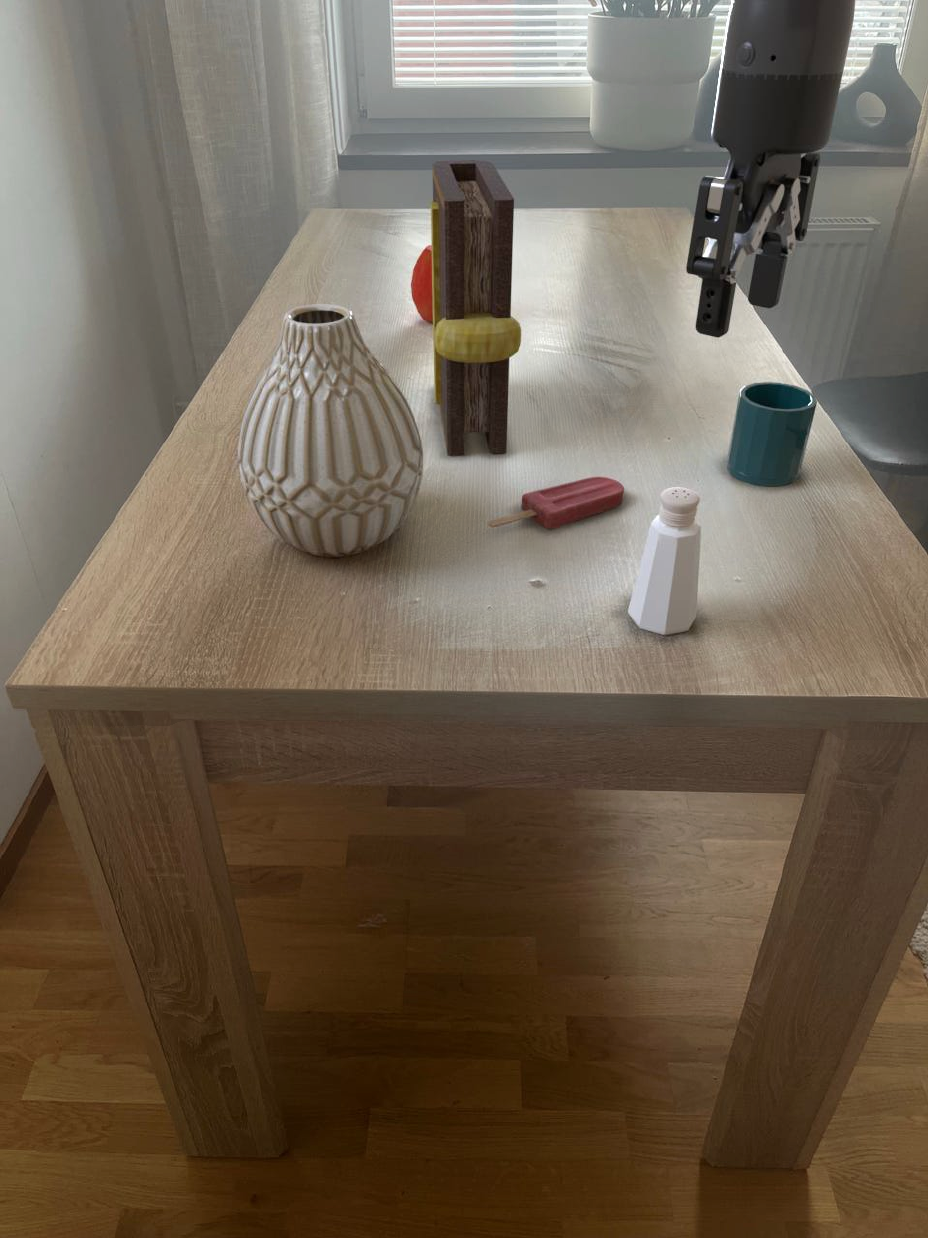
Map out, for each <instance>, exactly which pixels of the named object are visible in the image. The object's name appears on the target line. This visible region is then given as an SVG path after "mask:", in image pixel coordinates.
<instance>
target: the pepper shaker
mask: <svg viewBox="0 0 928 1238" xmlns="http://www.w3.org/2000/svg"><path fill="white" fill-rule="evenodd" d="M700 500H701V497H700V496H699V494H698V493H697V492H696V491H694V490H693V489H691V488H687V487H682V486H674V487H669V488H665V489H664V490H663V491H662V492H661V493H660V506H659V514H658V515H656V516H655V518H654V519H653V521H652V522H651V523H650V526H649V529H648V532H647V536H646V540H645V544H644V548H643V550H642V551H643V552H642V555H641V559H640V563H639V567H638V571H637V574H636V577H635V582H634V586H633V590H632V593H631V598H630V602H629V606H628V610H627V613H628V615H629V616H630V617H631V619H632V621H633V622H634V623H635V624H636V626H637V627H638V628H639V629H641V630H643V631H648V632H651V633H654V634H658V635H662V636H669V635H673V634H679V633H684V632H688V631H689V630H690V628H691V627H692V625H693V623H694V621H695V619H696V618H697V611H698V595H699V594H698V592H699V591H698V590H699V577H700V576H699V575H700V556H701V538H702V526H701V525H700V524H699V523H698V522H697V521H696V516H697V511H698V506H699V503H700Z"/></svg>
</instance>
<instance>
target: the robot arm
mask: <svg viewBox="0 0 928 1238" xmlns="http://www.w3.org/2000/svg"><path fill="white" fill-rule="evenodd" d="M855 8H856V0H731V4H730V7H729V12H728V16H727V22H726V27H725V34H724V40H723V41H724V42H723V49H722V55H721V63H720V69H719V77H718V82H717V83H718V84H717V91H716V99H715V106H714V113H713V120H712V127H711V132H710V133H711V134H710V135H711V140H712V142H713V143H714V144H715V145H716V146H717V147H719V148H722V149H726V150H727V152H728V153H729V160H728V163H727V167H726V169H725V170H726V171H725V172H724V176H723V177H718V176H710V175H704V176H702V178H701V180H700V183H699V187H698V193H697V197H696V205H695V210H694V217H693V222H692V223H693V224H692V228H691V229H692V230H691V235H690V241H689V242H690V243H689V248H688V255H687V260H686V267H685V271H686V273H687V274H689V275H694V276H697V277H698V278H699V279H701V285H700V293H699V299H698V305H697V312H696V313H697V314H696V320H695V330H696V332H697V333H698V334H700V335H705V336H709V337H712V338H713V337H714V338H721V337H723V336H725V335H726V334H728V332H729V329H730V323H731V318H732V311H733V307H734V306H733V305H734V299H735V294H736V288H737V282H736V281H737V279H738V277H739V274H740V272H741V269H742V268H743V265H744V263H745V260H746V258H747V256H749V255H751V254H753V253H755V255H754V260H753V261H754V262H753V268H752V274H751V279H750V285H749V290H748V295H747V301H748V303H749V304H750V305H751V306H755V307H760V308H764V309H772V308H774V307H776V306H777V305H778V304H779V302H780V299H781V293H782V288H783V283H784V278H785V274H786V273H785V272H786V268H787V262H788V258H789V257H788V256H791V255H792V254H793V253H794V250H795V248H796V241H797V242H802V241H804V239H805V238H806V235H807V233H808V226H809V221H810V216H811V212H812V211H811V210H812V206H813V199H814V196H815V195H814V194H815V188H816V182H817V178H818V172H819V167H820V162H821V155H820V153H818V151H820V150H822V149H824V148H825V147H826V146H827V144H828V143H829V141H830V137H831V132H832V129H833V128H832V127H833V122H834V118H835V114H836V109H837V105H838V99H839V93H840V89H841V84H842V79H843V75H844V69H845V65H846V60H847V55H848V50H849V45H850V40H851V36H852V31H853V26H854V19H855ZM706 240H707V241H708V243H707V246H706V247H705V243H706ZM704 249H705V250H704ZM757 250H759V252H757V253H756V251H757ZM732 251H733V252H732ZM787 255H788V256H787Z"/></svg>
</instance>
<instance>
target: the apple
mask: <svg viewBox="0 0 928 1238" xmlns="http://www.w3.org/2000/svg"><path fill="white" fill-rule="evenodd" d="M410 290H411V298H412V302H413V304H414V306H415V309H416V311H417V313H418V315H419V316H420V317H421V319H422V320H423V321H426V322H428V323H431V324H433V294H432V244H428V245H426V247H425V248H424V249H423V250H422V251H421V253H420V255H419V256H418V258H417V260H416V262H415V265H414V266H413V269H412V275H411V281H410Z"/></svg>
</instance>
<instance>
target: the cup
mask: <svg viewBox="0 0 928 1238" xmlns="http://www.w3.org/2000/svg"><path fill="white" fill-rule="evenodd" d="M817 400H818V399H817V397H816V395H815V394H813V393H812V392H810V391H809V390H808V389H805V388H802V387H800V386H798V385H793V384H789V383H784V382H773V381H765V382H764V381H761V382H753V383H750V384H748V385H744V386H743V387H742V388H741V389H740V390H739V392H738V398H737V403H736V408H735V415H734V420H733V425H732V431H731V435H730V442H729V445H728V451H727V459H726V460H727V461H726V470H727V471H728V473H729V474H730V475H731V476H733V477H734V478H735V479H737V480H739V481H742V482H744V483H747V484H751V485H754V486H761V487H781V486H786V485H790V484H792V483H794V482H796V481H797V480H798V478H799V476H800V472H801V470H802V468H803V467H802V466H803V462H804V460H805V459H804V458H805V455H806V450H807V445H808V441H809V438H810V433H811V429H812V425H813V420H814V418H815V417H814V416H815V412H816V408H817V404H818V401H817Z"/></svg>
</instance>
